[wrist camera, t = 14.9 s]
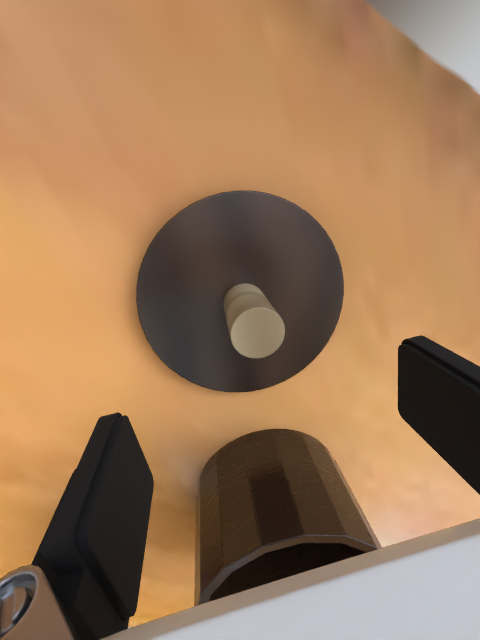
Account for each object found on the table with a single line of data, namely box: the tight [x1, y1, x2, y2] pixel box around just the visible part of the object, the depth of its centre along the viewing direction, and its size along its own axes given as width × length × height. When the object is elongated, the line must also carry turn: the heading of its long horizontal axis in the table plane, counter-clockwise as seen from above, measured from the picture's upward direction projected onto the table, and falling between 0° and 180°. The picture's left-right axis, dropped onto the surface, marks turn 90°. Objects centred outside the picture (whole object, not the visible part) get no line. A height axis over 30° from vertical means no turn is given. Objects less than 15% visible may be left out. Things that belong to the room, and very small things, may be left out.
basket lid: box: [136, 191, 344, 392], centre depth 19 cm, size 15×15×7 cm
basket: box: [194, 429, 382, 606], centre depth 25 cm, size 14×14×10 cm
